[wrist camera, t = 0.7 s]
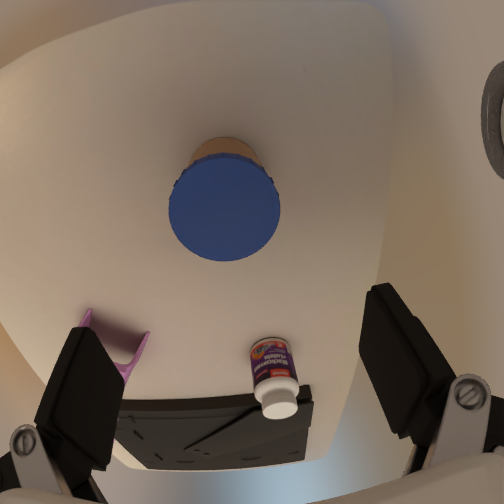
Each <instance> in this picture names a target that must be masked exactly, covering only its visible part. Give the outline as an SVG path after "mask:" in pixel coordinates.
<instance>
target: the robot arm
mask: <svg viewBox="0 0 504 504" xmlns="http://www.w3.org/2000/svg"><path fill="white" fill-rule="evenodd" d="M500 124H501V135H502V141H503V145H504V99H503V103H502V108H501V119H500ZM359 354H360V357H361V359H362V361H363V363H364V366H365V368H366V370H367V373H368V375H369V377H370V380H371V382H372V384H373V387H374V389H375V391H376V394H377V396H378V399H379V401H380V404H381V406H382V408H383V411H384V413H385V416H386V418H387V421H388V423H389V426H390V428H391V431H392V432H393V433H394V434H396V433H397V434H398V436H399V439H403V438H405V437H408V436H410V437H411V439H412V442H413V444H414V447H413V450H412V453H411V455H410V457H409V460H408V463H407V465H406V468H405V470H404V472H403V475H402V477H401V478H398V479H395V480H393V481H390V482H387V483H384V484H381V485H378V486H375V487H372V488H368V489H364V490H361V491H358V492H354V493H351V494H347V495H343V496H339V497H335V498H331V499H327V500H322V501H318V502H313V503H307V504H504V399H503V398H499V397H496V396H493V395H491V390H490V388H489V385H488V384H487V383H486V381H485V380H484V379H482V378H481V377H479V376H477V375H475V374H464V375H460V376H459V377H456V375H455V373H454V372H453V370H452V368H451V367H450V365H449V364H448V362H447V360H446V359H445V357H444V356H443V354H442V353H441V351H440V350H439V348H438V346H437V345H436V344H435V342H434V340H433V339H432V337H431V336H430V334H429V333H428V332H427V330H426V328H425V327H424V325H423V324H422V323H421V321H420V320H419V319H418V318H417V317H416V316H413V315H412V313H411V312H410V310H409V309H408V308H407V306H406V305H405V303H404V302H403V300H402V299H401V298H400V296H399V295H398V294H397V292H396V291H395V289H394V288H393V286H392V285H391V284H390V283H384V284H379V285H374V286H372V287H371V291H368V292H367V294H366V301H365V309H364V316H363V323H362V329H361V335H360V342H359ZM124 387H125V382H124V378H123V377H122V375H121V374H120V372H119V371H118V369H117V367H116V366H115V364H114V363H113V361H112V360H111V358H110V357H109V355H108V353H107V352H106V350H105V348H104V347H103V345H102V344H101V342H100V340H99V338H98V337H97V335H96V333H95V332H94V331H93V330H91V329H90V328H89V327H74V328H72V329H71V331H70V333H69V335H68V338H67V340H66V342H65V344H64V346H63V348H62V351H61V353H60V355H59V357H58V360H57V362H56V364H55V367H54V369H53V372H52V374H51V376H50V379H49V381H48V384H47V386H46V389H45V392H44V394H43V397H42V399H41V402H40V405H39V408H38V410H37V413H36V416H35V419H34V422H35V423H36V424H37V426H36V428H35V427H34V426H32V425H29V424H24V425H22V426H19V427H18V428H17V429H16V430H15V431H14V432H13V434H12V436H11V439H10V451H9V452H8V453H7V454H5V455H4V456H2V457H1V458H0V504H108V502H107V501H106V499H105V498H104V496H103V494H102V493H101V491H100V489H99V488H98V486H97V484H96V483H95V481H94V479H93V477H92V475H91V471H92V469H93V470H99V471H106V466H107V465H108V464H109V463H110V460H111V454H112V448H113V442H114V437H115V431H116V426H117V421H118V416H119V411H120V406H121V401H122V396H123V392H124Z"/></svg>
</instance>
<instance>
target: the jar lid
mask: <svg viewBox="0 0 504 504" xmlns="http://www.w3.org/2000/svg"><path fill="white" fill-rule="evenodd" d="M273 183H274V182H273V180H272V178H271V177H269V176H268V174H267V173H266V171H265V169H264V167H263V166H262V167H261V166H260V165H258V164H257V163H256V162H254V161H253V160H252V158H250V159H249V158H247V157H245V156H242V155H239V153H237V154H233V153H224V152H222V153H216V154H211V155H210V154H208V155H207V156H205V157H202V158H200V159H198V160H197V161H196V160H194V163H192V164H191V165H190V166H189V167H188V168H186V169H184V170H183V172H182V174H181V176H180V177H179V179H178V180H176V182H175V184H174V189H173V191H172V194H171V196H170V198H169V200H170V201H169V219H170V223H171V226H172V229H173V231H174V233H175V235H176V236H177V238H178V239H179V241H180V242H181V243H182V244H183V245H184V246H185V247H186V248H187V249H188V250H190V251H191V252H193V253H194V254H196V255H198V256H200V257H203V258H206V259H209V260H214V261H234V260H239V259H242V258H245V257H248V256H250V255H252V254H254V253H255V252H257V251H258V250H260V249H261V248H262V247H263V246H264V245H265V244H266V243H267V242H268V241H269V240H270V238H271V237H272V235H273V234H274V232H275V230H276V228H277V225H278V222H279V217H280V201H279V197H278V196H279V194H278V192H277V190H276V189H275V186H274V184H273Z"/></svg>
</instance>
